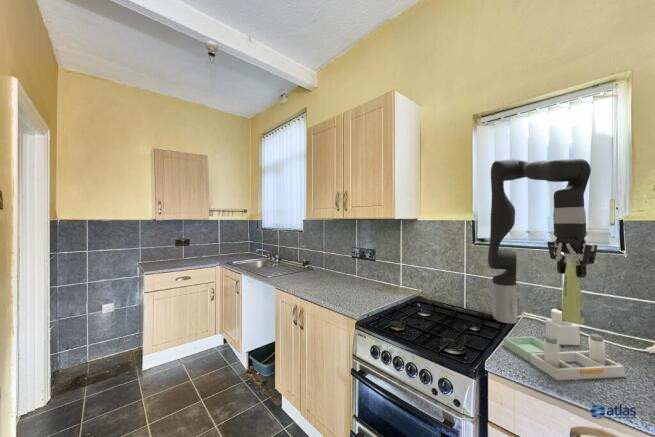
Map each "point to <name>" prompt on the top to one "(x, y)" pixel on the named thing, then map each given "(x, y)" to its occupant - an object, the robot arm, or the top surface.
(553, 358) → the bottle
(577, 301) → the tube
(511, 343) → the tray
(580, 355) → the holder
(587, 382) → the top surface
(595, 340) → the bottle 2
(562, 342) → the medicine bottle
